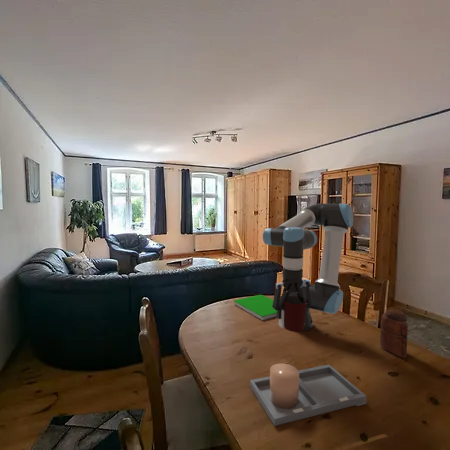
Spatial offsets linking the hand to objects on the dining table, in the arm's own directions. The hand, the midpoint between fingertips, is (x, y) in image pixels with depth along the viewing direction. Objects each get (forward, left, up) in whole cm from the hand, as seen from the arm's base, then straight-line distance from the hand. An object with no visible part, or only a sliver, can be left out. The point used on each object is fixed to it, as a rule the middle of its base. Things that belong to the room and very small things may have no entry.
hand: (291, 324), depth 110 cm
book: (-14, -56, -16) cm, 60 cm away
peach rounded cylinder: (+13, +18, -15) cm, 27 cm away
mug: (0, 0, -1) cm, 1 cm away
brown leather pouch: (-47, +5, -16) cm, 50 cm away
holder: (+5, +18, -15) cm, 24 cm away
